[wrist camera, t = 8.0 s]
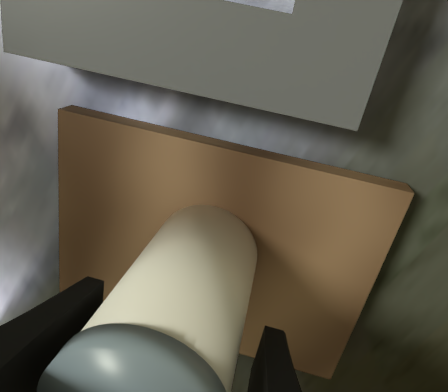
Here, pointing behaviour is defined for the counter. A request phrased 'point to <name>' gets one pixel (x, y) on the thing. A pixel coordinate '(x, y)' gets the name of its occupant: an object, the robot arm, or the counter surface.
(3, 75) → the counter surface
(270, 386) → the robot arm
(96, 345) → the cartridge
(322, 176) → the board
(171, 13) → the housing
